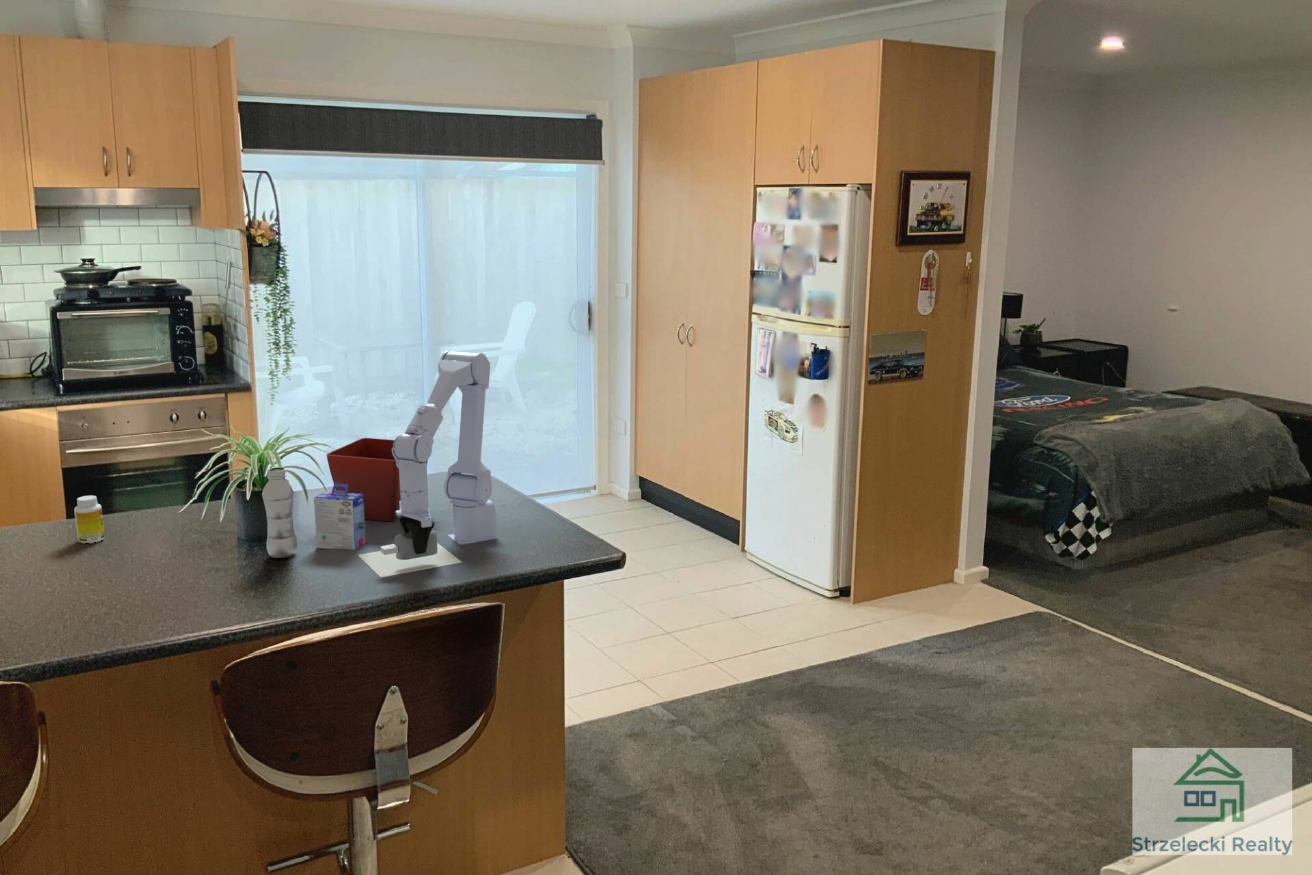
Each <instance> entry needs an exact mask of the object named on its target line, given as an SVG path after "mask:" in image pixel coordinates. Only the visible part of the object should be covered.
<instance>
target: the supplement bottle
mask: <svg viewBox="0 0 1312 875" xmlns="http://www.w3.org/2000/svg"><path fill="white" fill-rule="evenodd" d="M76 503H77V506H75V507H74V509H73V510H74V519H75V521H74V522H75V528H76V536H77V541H78V542H79V543H80V542H81V543H80V544H85V543H89V544H95V543H94V542H96V543H98V542H101V540H102V541H103V540H104V539H105V537H106V533H105V525H104V516H103V508H102V505H101V504H99V503H98V498H97V496H96V495H83V496H80V497H78V498H76Z"/></svg>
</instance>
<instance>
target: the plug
mask: <svg viewBox="0 0 1312 875" xmlns="http://www.w3.org/2000/svg"><path fill="white" fill-rule="evenodd" d="M394 540H395V541H394V542H395V544H394V543H391V544H386V545H382V546H380V547H379V548H380V551H381V553H383V554H384V555H388V554H393V553H396V558H397V559H400V560H408V559H414V558H419V557H425V556H430V555H435V554H437V553H438V549H437V543H438V533H437V531H436V530H434V529H432V531H431V533H430V536H429V539H428V544H427V549H426V553H422V554H416V553H415V551H414V547H413V541H412V537H411V534H410V533H405V534H404V533H399V534H397V535H396V536H395V537H394Z"/></svg>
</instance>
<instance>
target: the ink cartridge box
mask: <svg viewBox="0 0 1312 875" xmlns="http://www.w3.org/2000/svg"><path fill="white" fill-rule="evenodd" d="M336 487H343V488H345V490H344V491H343V490H336V489H335V488H336ZM347 490H348V484H339V483H333V486H332V489H331V492H329V491H328V492H327V491H324V492H322V493H320V494H318V495H316V496H315V497H313V504H314V506H313V507H314V525H315V527H314V528H315V541H316V542H315V543H316V544H315V546H316V548H317V549H322V550H323V549H324V550H333V549H343V550H357V549H358V548H360V547H361V546H363V545H365V544H366V542H367V541H366V527H365V526H366V524H365V520H366V519H364V501H363V494H353V493H347Z"/></svg>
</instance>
